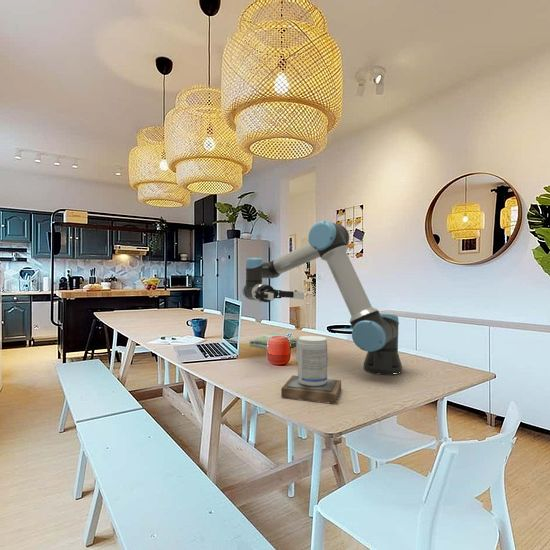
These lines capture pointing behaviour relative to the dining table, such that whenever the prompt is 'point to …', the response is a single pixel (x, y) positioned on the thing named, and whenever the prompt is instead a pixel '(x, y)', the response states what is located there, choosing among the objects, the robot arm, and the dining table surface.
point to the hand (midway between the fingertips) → (288, 296)
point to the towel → (263, 340)
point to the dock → (311, 390)
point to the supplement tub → (312, 360)
